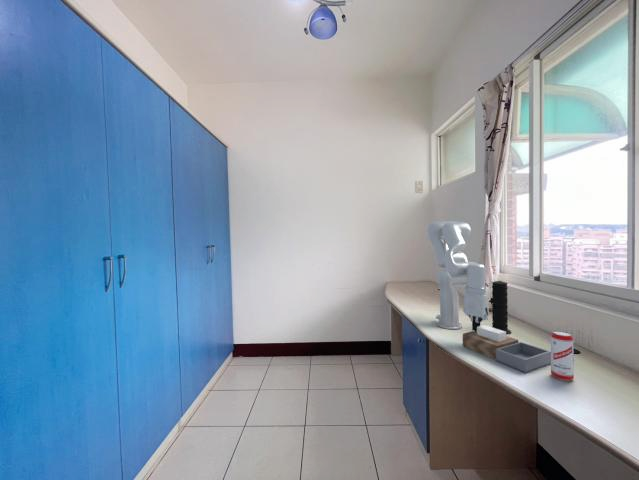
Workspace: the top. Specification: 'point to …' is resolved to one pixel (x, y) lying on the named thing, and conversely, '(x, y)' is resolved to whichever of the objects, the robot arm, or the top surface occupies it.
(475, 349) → the wooden plinth
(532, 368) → the tray
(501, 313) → the handle grip
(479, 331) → the tile rear
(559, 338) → the beer can
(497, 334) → the tile front
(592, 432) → the top surface
